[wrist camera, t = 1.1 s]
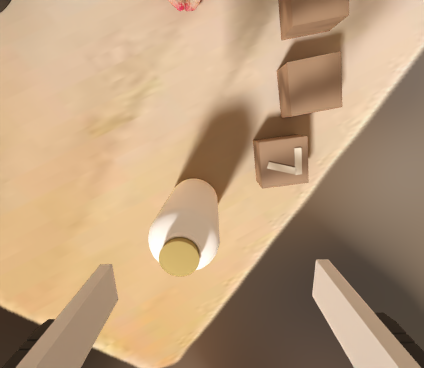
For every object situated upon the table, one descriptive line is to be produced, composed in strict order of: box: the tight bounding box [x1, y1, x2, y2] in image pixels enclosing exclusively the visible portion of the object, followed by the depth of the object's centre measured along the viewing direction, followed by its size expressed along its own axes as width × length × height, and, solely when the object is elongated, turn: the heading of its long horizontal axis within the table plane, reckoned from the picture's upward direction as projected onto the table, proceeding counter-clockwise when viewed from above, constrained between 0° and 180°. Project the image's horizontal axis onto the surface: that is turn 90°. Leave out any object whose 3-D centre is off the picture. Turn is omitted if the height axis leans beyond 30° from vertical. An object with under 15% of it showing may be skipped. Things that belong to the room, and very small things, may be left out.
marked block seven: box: [253, 135, 309, 188], centre depth 34 cm, size 7×7×5 cm
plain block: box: [277, 51, 342, 118], centre depth 32 cm, size 7×7×5 cm
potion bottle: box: [148, 178, 220, 277], centre depth 30 cm, size 8×8×18 cm
